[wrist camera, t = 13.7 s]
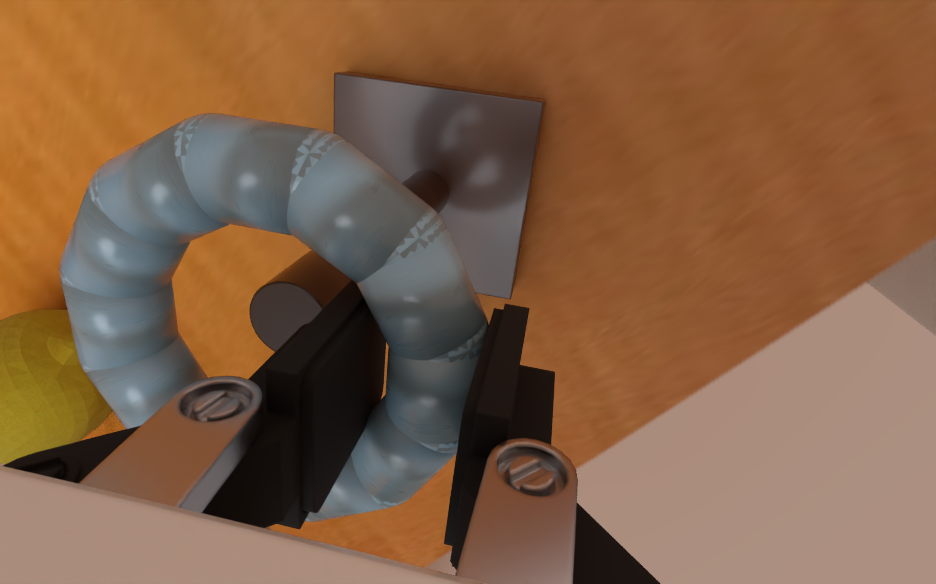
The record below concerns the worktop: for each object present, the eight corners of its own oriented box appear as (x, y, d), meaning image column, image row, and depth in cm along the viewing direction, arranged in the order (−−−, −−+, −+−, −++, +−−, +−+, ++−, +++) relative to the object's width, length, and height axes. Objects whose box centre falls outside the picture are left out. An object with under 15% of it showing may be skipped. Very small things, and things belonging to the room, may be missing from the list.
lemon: (97, 260, 31) (-49, 322, 24) (188, 364, 33) (79, 451, 26) (2, 338, 35) (-148, 412, 27) (88, 426, 37) (-30, 517, 29)
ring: (522, 151, 10) (511, 172, 8) (465, 509, 14) (449, 577, 12) (83, 83, 11) (-14, 89, 9) (144, 434, 15) (85, 485, 13)
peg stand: (545, 99, 23) (509, 155, 10) (513, 287, 27) (456, 507, 14) (347, 71, 24) (78, 89, 11) (343, 256, 28) (140, 433, 15)
